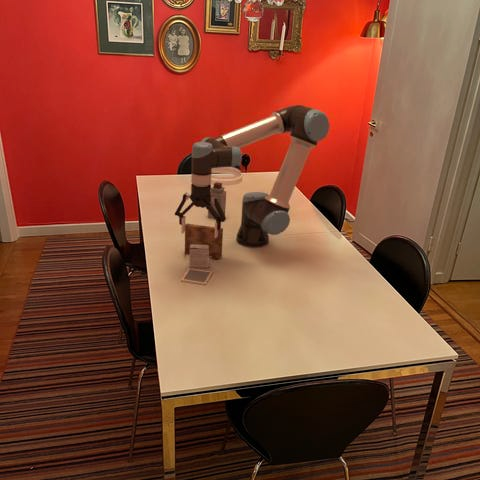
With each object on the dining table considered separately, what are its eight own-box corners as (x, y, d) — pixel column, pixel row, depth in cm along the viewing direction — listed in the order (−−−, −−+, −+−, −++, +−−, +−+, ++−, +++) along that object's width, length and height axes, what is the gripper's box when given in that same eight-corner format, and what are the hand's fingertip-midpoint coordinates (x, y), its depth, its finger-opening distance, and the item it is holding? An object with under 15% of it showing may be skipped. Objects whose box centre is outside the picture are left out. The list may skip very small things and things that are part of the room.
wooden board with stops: (222, 254, 204) (223, 227, 198) (219, 259, 199) (221, 231, 194) (187, 249, 206) (187, 222, 201) (183, 254, 202) (183, 226, 196)
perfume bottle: (207, 217, 241) (208, 184, 234) (213, 213, 247) (214, 180, 239) (219, 220, 239) (221, 186, 231) (225, 215, 245) (226, 182, 237)
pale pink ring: (195, 183, 292) (195, 174, 290) (205, 171, 316) (205, 163, 314) (237, 188, 288) (238, 179, 286) (244, 175, 313) (245, 167, 310)
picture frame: (212, 273, 188) (212, 271, 188) (205, 285, 179) (206, 283, 179) (188, 269, 190) (188, 268, 189) (180, 281, 181) (180, 279, 180)
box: (208, 263, 196) (209, 244, 192) (208, 268, 192) (209, 249, 188) (189, 262, 195) (190, 243, 192) (189, 267, 191) (189, 248, 188)
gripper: (235, 184, 180) (232, 235, 189) (173, 177, 184) (172, 226, 193) (230, 190, 174) (227, 242, 182) (166, 182, 177) (166, 233, 186)
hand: (199, 234), depth 188 cm, fingers open, 13 cm apart
